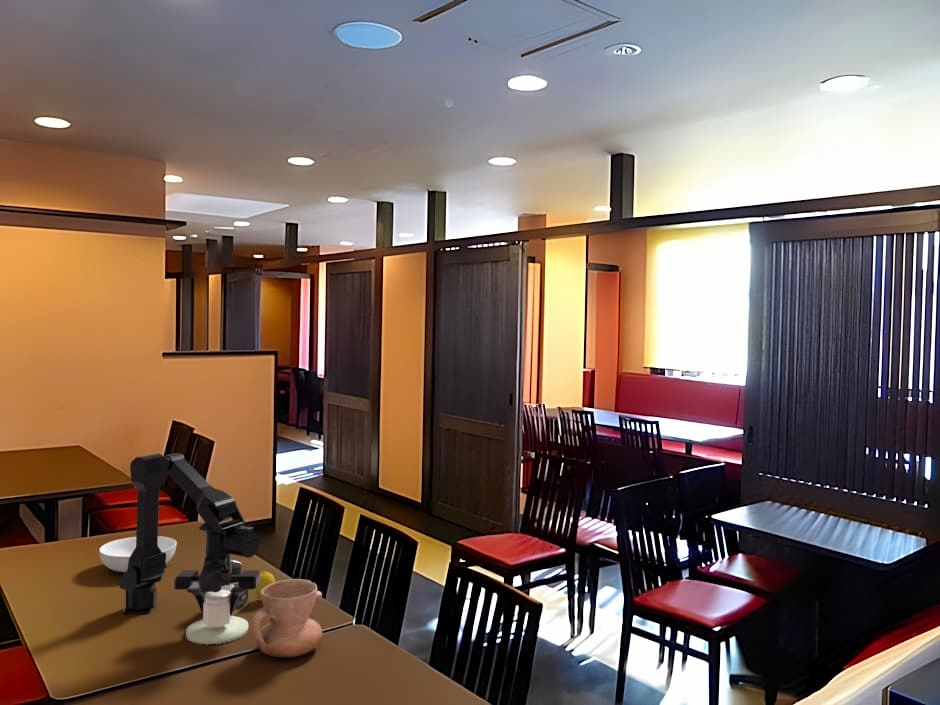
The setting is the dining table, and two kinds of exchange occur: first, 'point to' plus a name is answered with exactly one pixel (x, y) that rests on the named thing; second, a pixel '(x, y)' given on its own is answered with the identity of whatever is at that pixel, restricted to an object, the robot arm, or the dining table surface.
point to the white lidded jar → (217, 608)
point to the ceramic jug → (287, 619)
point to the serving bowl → (130, 552)
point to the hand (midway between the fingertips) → (217, 615)
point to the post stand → (217, 632)
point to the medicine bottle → (243, 596)
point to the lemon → (263, 582)
